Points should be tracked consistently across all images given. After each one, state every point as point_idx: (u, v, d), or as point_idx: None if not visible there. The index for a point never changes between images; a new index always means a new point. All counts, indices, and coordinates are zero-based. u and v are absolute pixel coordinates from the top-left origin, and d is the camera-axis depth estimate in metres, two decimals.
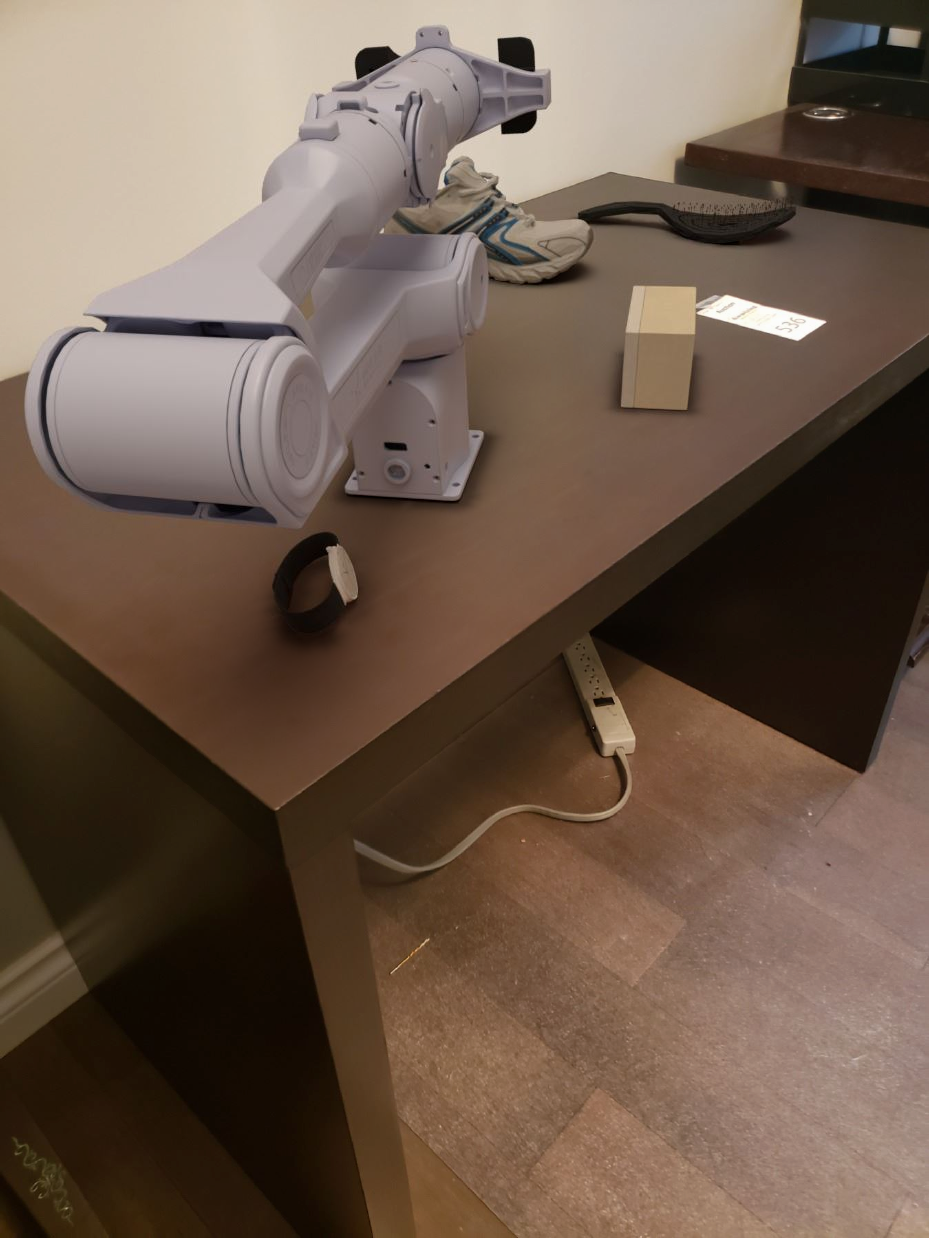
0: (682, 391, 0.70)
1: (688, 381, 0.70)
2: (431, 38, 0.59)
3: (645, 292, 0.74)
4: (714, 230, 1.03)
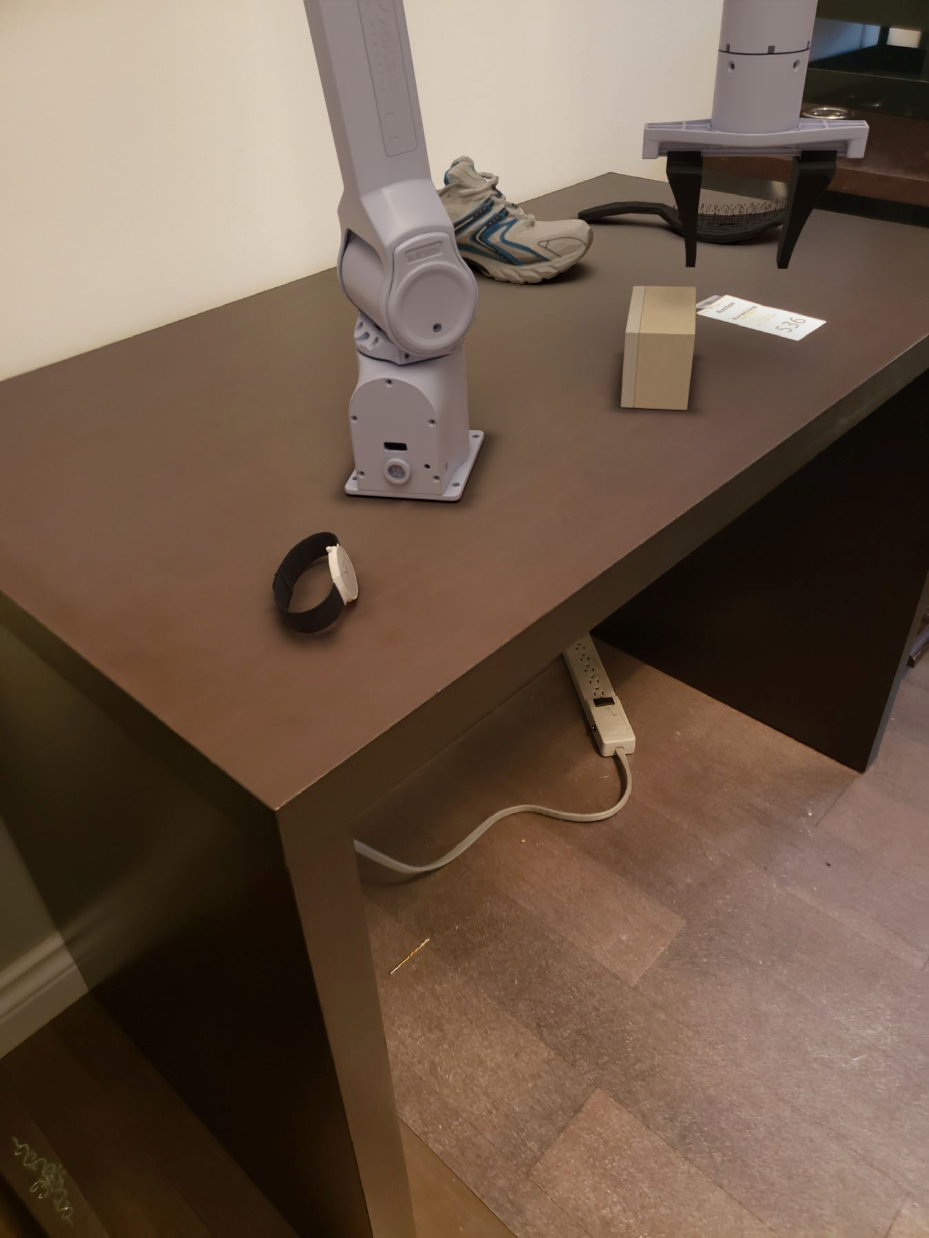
0: (682, 391, 0.70)
1: (688, 381, 0.70)
2: None
3: (645, 292, 0.74)
4: (714, 230, 1.03)
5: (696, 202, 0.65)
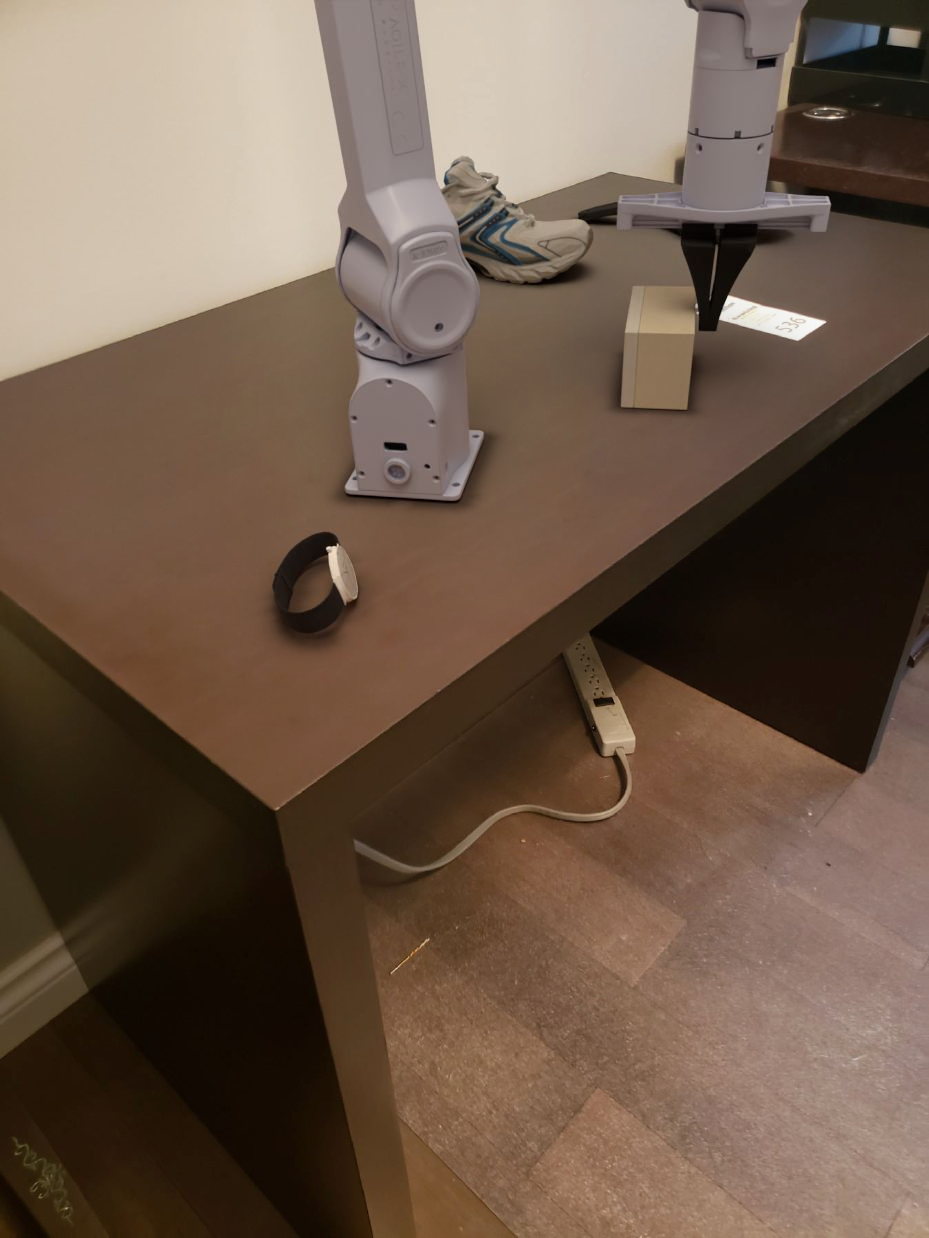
0: (682, 390, 0.70)
1: (688, 381, 0.70)
2: None
3: (644, 292, 0.74)
4: None
5: (709, 272, 0.67)
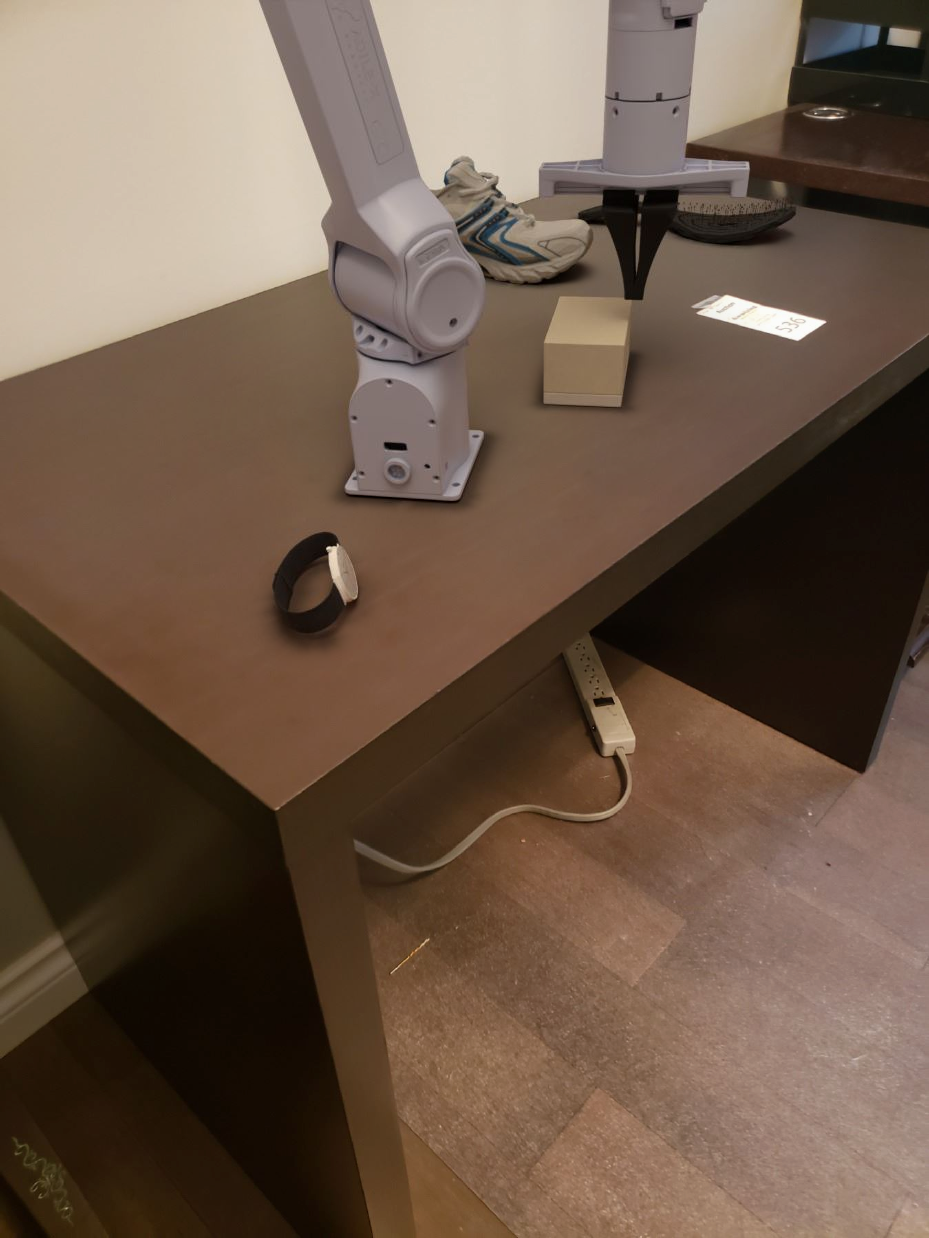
0: (602, 350, 0.69)
1: (592, 345, 0.69)
2: None
3: None
4: (714, 230, 1.03)
5: (631, 239, 0.67)
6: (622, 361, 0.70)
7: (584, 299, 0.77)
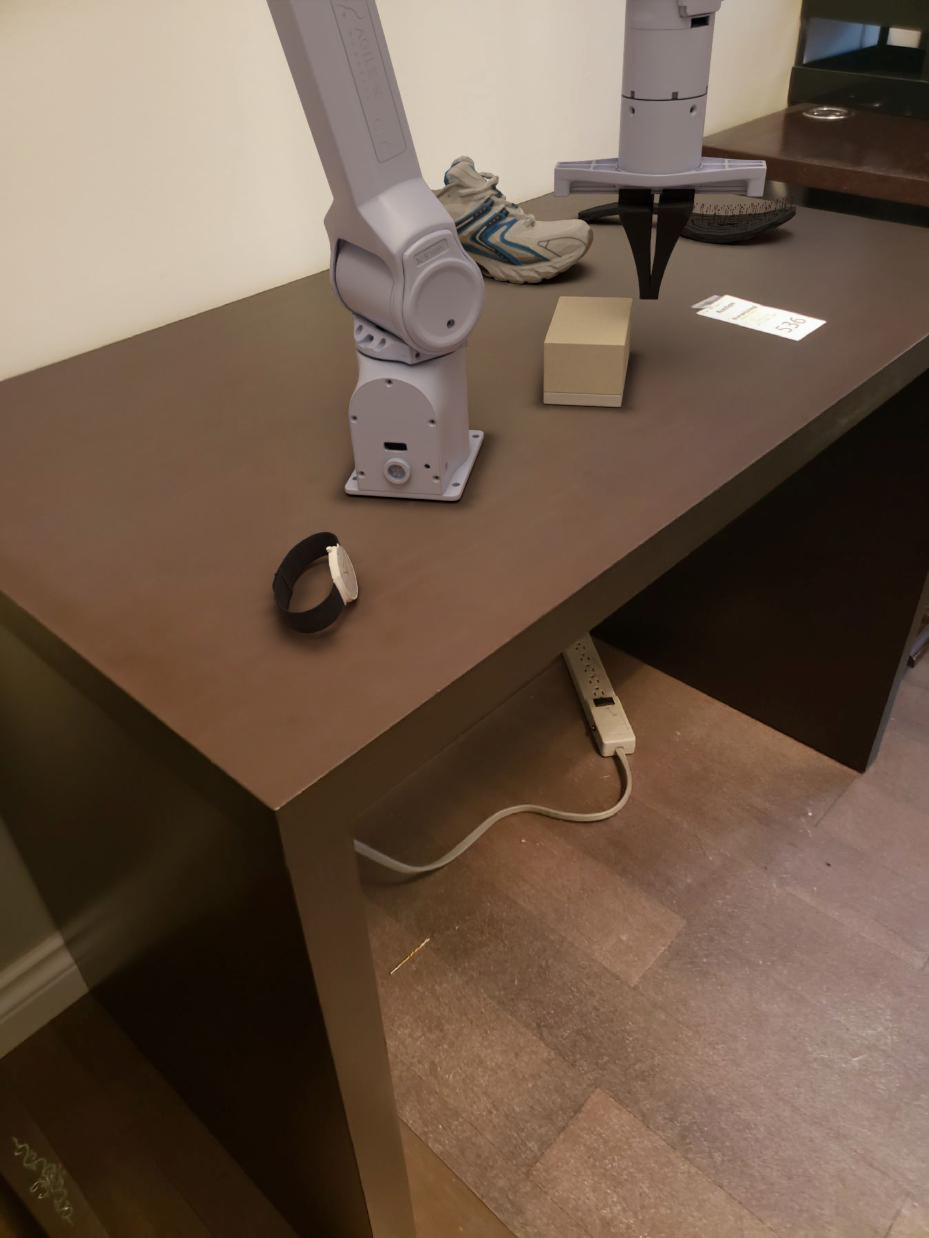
0: (602, 350, 0.69)
1: (592, 345, 0.69)
2: None
3: None
4: (714, 230, 1.03)
5: (647, 238, 0.67)
6: (622, 361, 0.70)
7: (584, 299, 0.77)
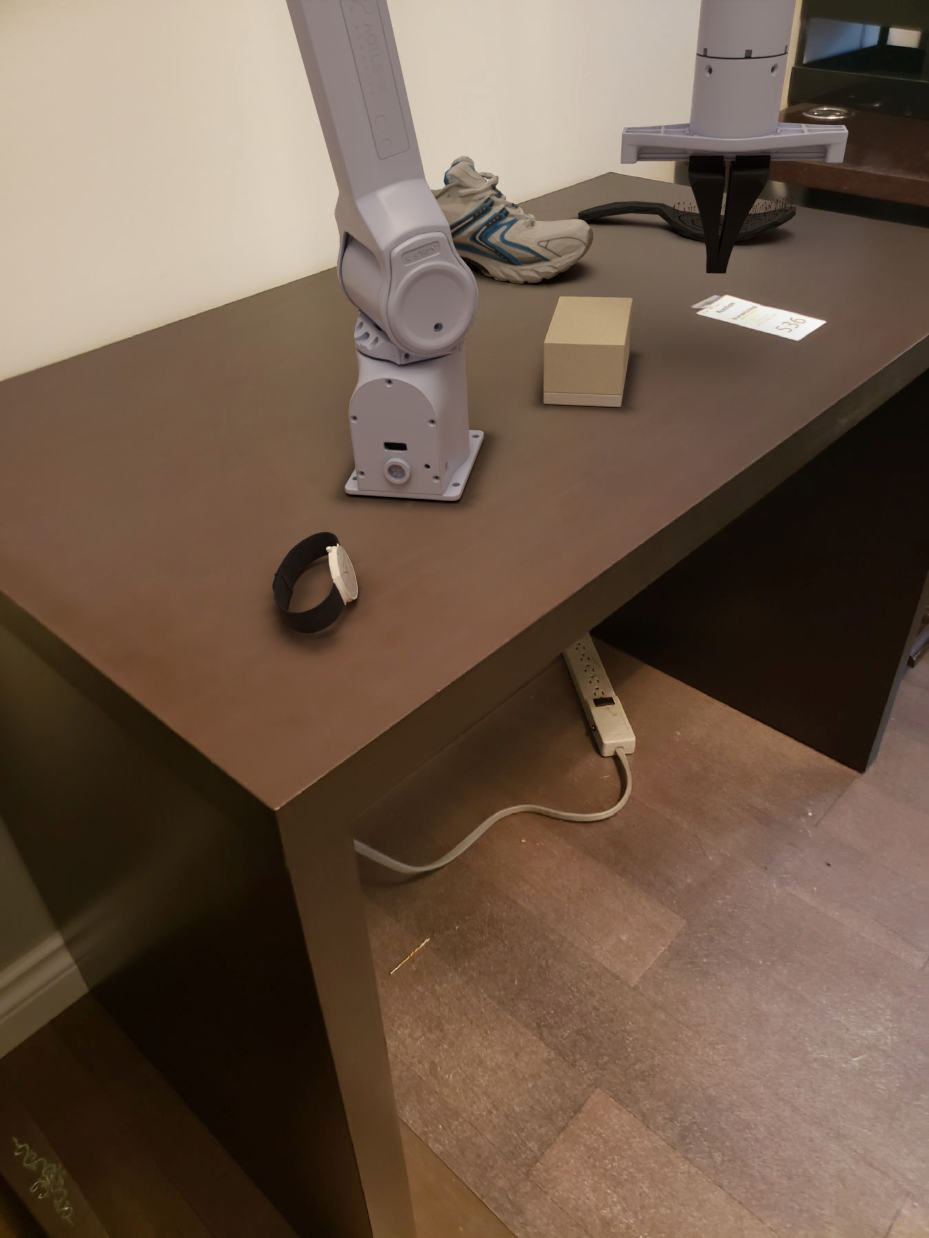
0: (602, 350, 0.69)
1: (592, 345, 0.69)
2: None
3: None
4: None
5: (718, 207, 0.64)
6: (622, 361, 0.70)
7: (584, 299, 0.77)
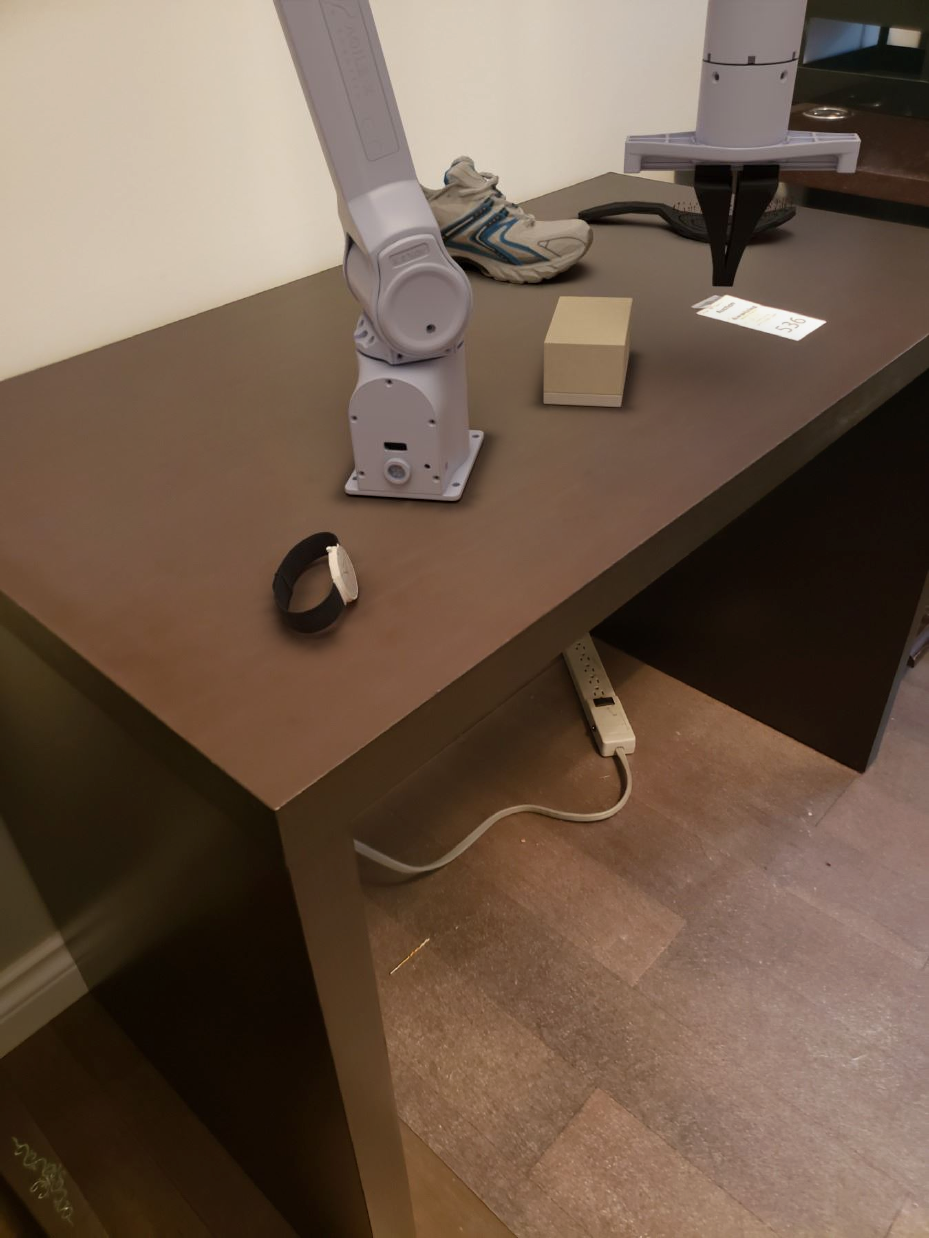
0: (602, 350, 0.69)
1: (592, 345, 0.69)
2: None
3: None
4: None
5: (725, 219, 0.61)
6: (622, 361, 0.70)
7: (584, 299, 0.77)
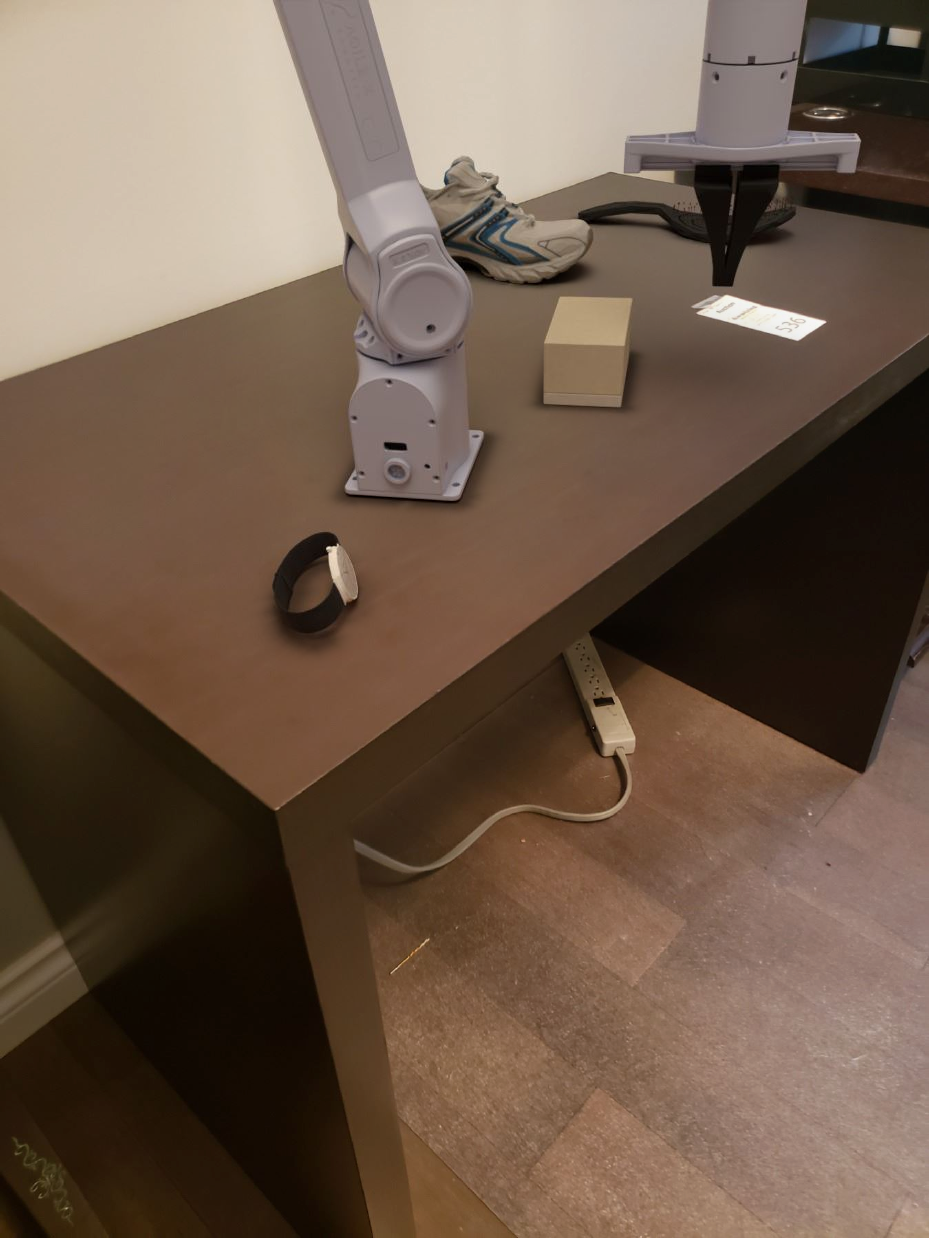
0: (602, 350, 0.69)
1: (592, 345, 0.69)
2: None
3: None
4: None
5: (725, 219, 0.61)
6: (622, 361, 0.70)
7: (584, 300, 0.77)
